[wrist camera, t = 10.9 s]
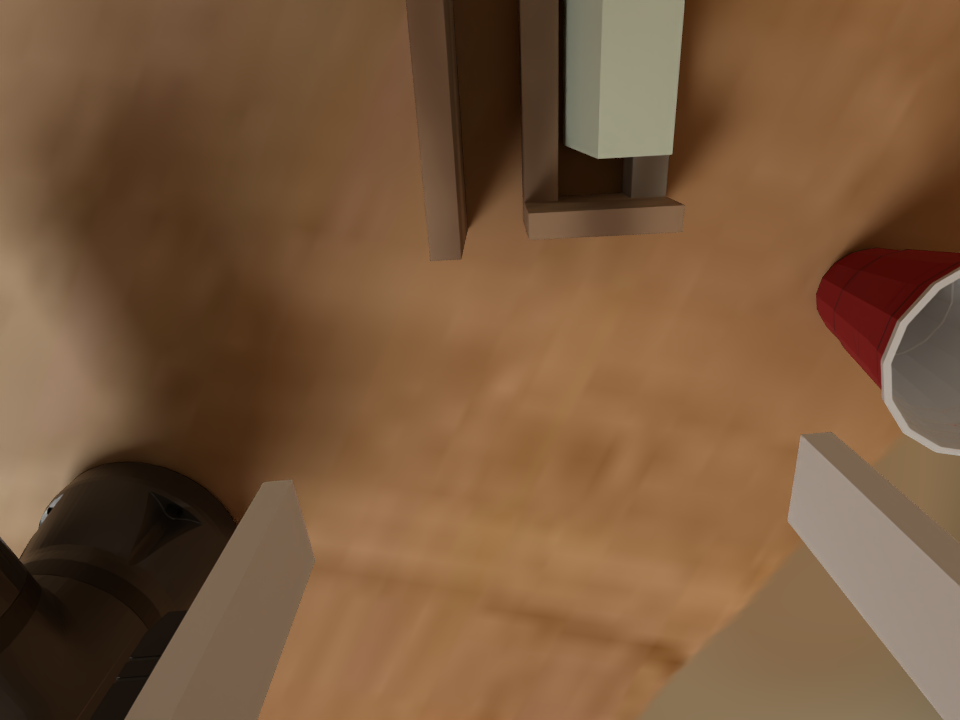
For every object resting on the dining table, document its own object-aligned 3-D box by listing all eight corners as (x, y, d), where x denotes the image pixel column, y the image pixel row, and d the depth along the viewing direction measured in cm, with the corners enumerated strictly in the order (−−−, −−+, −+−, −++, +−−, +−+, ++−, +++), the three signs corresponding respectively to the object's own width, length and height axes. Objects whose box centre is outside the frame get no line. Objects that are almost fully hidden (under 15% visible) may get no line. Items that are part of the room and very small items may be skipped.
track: (443, 231, 36) (430, 260, 28) (406, -215, 27) (374, -339, 19) (652, 220, 35) (694, 247, 28) (684, -239, 26) (758, -375, 19)
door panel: (562, 144, 33) (597, 158, 22) (564, -103, 28) (609, -240, 18) (612, 141, 33) (672, 154, 22) (622, -108, 28) (705, -249, 17)
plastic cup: (882, 167, 33) (1071, 192, 22) (977, 279, 36) (1188, 351, 25) (739, 297, 37) (844, 373, 26) (836, 390, 40) (968, 495, 29)
